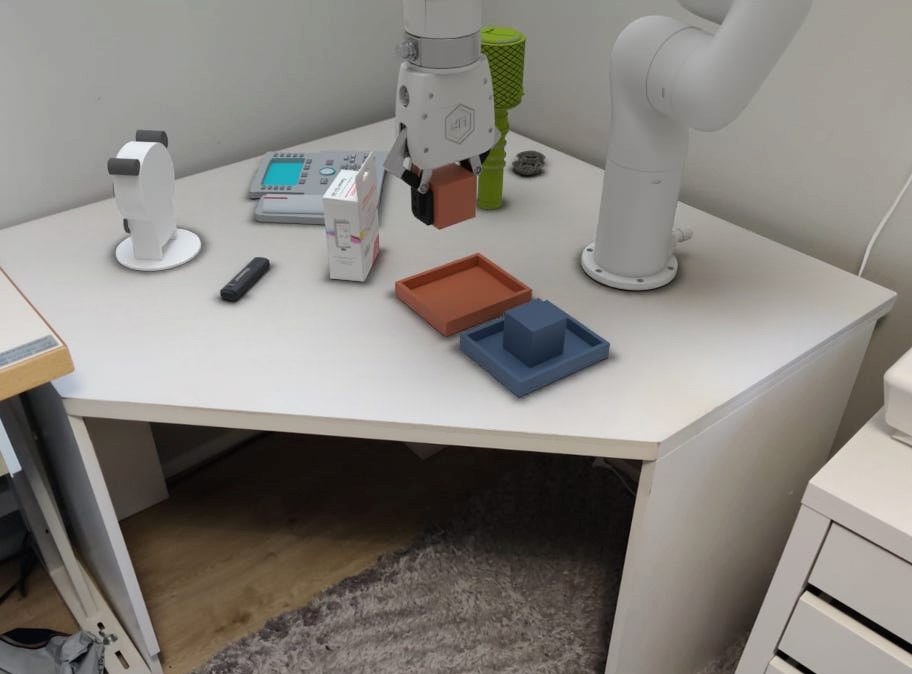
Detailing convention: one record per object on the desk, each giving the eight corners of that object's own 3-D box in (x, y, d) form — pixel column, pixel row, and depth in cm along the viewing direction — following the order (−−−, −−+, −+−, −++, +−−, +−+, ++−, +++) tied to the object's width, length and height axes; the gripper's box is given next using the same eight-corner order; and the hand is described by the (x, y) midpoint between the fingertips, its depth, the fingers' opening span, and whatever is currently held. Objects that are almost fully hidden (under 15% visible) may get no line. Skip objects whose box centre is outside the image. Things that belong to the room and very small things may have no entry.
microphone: (458, 211, 131) (461, 36, 116) (472, 189, 137) (477, 20, 121) (510, 219, 129) (521, 42, 114) (523, 196, 135) (535, 26, 119)
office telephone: (375, 211, 126) (235, 208, 127) (376, 227, 128) (238, 224, 128) (388, 143, 144) (266, 140, 145) (388, 158, 146) (267, 155, 146)
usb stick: (255, 263, 119) (254, 253, 118) (272, 267, 119) (271, 257, 118) (218, 299, 112) (216, 289, 111) (236, 303, 112) (235, 292, 111)
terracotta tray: (478, 265, 119) (478, 252, 118) (531, 302, 112) (532, 289, 110) (395, 295, 113) (394, 281, 112) (445, 336, 106) (445, 322, 105)
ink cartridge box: (345, 247, 123) (338, 146, 114) (380, 251, 122) (376, 149, 113) (327, 279, 116) (318, 174, 107) (364, 283, 115) (358, 177, 106)
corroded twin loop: (547, 157, 146) (548, 151, 145) (540, 178, 140) (540, 172, 139) (517, 154, 147) (518, 148, 146) (508, 174, 141) (509, 168, 140)
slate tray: (545, 313, 110) (547, 299, 109) (608, 357, 103) (610, 343, 101) (459, 348, 104) (459, 334, 103) (519, 397, 97) (520, 383, 96)
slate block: (535, 333, 106) (538, 297, 102) (563, 353, 102) (567, 317, 99) (502, 347, 103) (504, 311, 100) (529, 368, 100) (532, 331, 97)
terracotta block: (449, 200, 102) (449, 159, 99) (475, 216, 99) (476, 175, 95) (413, 212, 100) (411, 171, 96) (439, 230, 96) (438, 187, 93)
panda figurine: (136, 225, 128) (113, 124, 118) (212, 230, 127) (195, 128, 117) (102, 268, 118) (74, 162, 109) (185, 273, 117) (164, 166, 108)
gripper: (391, 76, 81) (399, 249, 93) (533, 39, 89) (525, 204, 100) (349, 54, 86) (361, 222, 98) (487, 21, 94) (484, 180, 105)
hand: (444, 211), depth 99 cm, fingers closed on terracotta block, 5 cm apart
